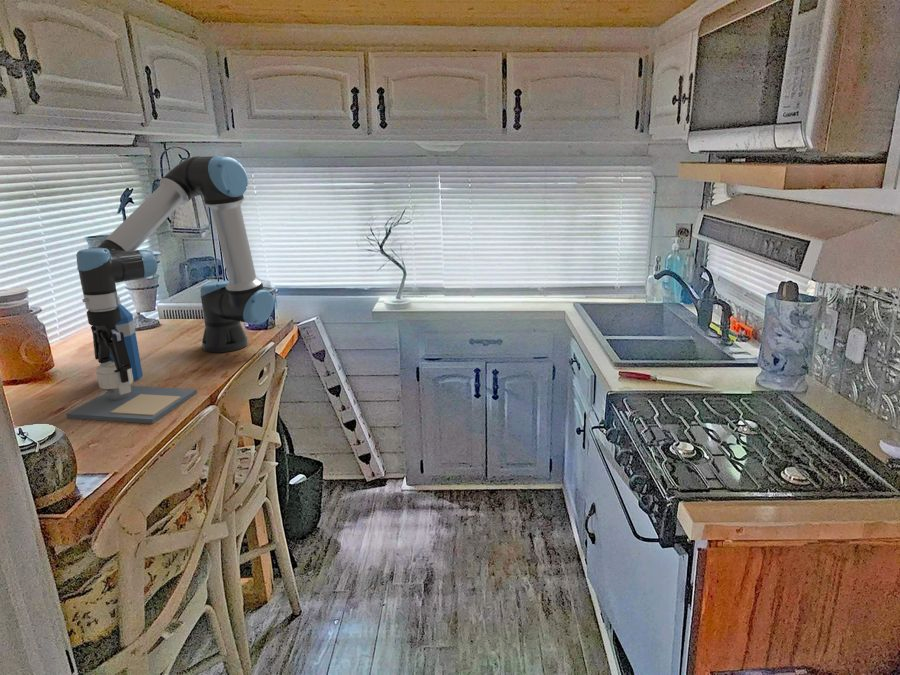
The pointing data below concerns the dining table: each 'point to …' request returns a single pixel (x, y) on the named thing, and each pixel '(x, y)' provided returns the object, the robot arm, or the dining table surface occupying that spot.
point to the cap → (109, 376)
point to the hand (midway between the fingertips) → (117, 388)
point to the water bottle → (129, 341)
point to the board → (133, 404)
